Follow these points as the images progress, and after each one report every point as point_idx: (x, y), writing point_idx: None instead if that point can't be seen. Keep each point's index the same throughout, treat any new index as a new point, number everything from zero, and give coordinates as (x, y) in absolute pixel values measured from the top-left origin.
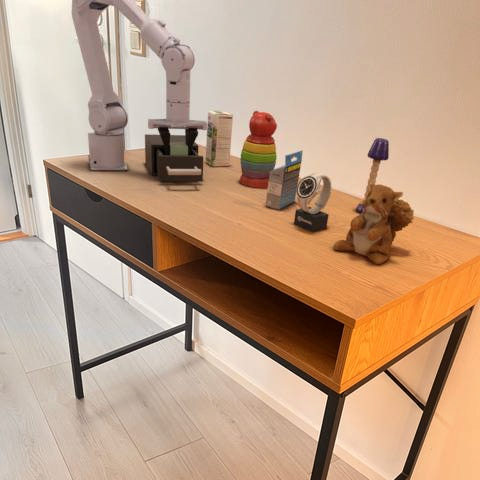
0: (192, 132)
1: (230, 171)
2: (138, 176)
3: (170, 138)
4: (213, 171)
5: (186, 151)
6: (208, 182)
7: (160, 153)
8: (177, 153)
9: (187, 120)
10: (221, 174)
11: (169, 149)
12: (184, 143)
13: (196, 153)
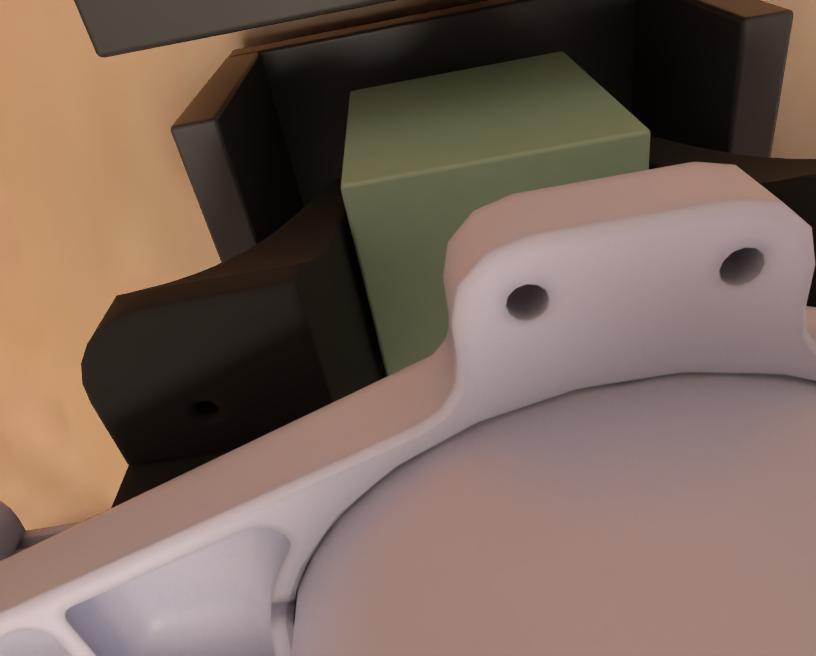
0: (214, 295)
1: (16, 426)
2: (799, 153)
3: None
4: None
5: (366, 147)
6: (133, 54)
7: (761, 90)
8: (504, 116)
9: (343, 576)
10: (68, 338)
11: None
12: (399, 362)
13: (222, 219)
